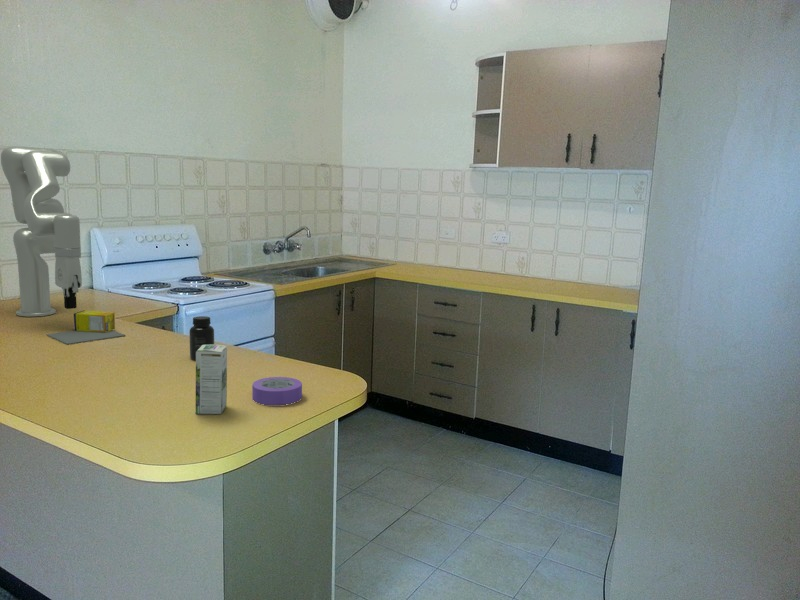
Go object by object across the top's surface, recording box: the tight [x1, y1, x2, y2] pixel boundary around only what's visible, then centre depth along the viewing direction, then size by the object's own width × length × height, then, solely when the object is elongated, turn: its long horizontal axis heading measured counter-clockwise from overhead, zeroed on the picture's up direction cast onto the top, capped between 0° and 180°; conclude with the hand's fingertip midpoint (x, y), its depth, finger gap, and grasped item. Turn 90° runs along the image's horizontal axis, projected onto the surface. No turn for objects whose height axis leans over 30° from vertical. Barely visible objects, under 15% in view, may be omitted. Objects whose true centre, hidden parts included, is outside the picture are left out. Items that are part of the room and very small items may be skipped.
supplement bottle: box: [188, 315, 215, 361], centre depth 180 cm, size 7×7×12 cm
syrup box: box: [195, 344, 228, 415], centre depth 138 cm, size 6×6×14 cm
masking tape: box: [251, 376, 303, 406], centre depth 149 cm, size 12×12×4 cm
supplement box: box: [73, 309, 116, 333], centre depth 206 cm, size 6×6×11 cm
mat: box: [45, 329, 126, 346], centre depth 200 cm, size 16×18×1 cm
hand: (70, 308), depth 206 cm, fingers closed
